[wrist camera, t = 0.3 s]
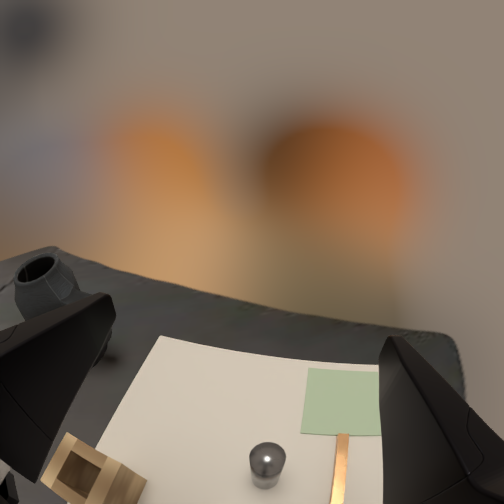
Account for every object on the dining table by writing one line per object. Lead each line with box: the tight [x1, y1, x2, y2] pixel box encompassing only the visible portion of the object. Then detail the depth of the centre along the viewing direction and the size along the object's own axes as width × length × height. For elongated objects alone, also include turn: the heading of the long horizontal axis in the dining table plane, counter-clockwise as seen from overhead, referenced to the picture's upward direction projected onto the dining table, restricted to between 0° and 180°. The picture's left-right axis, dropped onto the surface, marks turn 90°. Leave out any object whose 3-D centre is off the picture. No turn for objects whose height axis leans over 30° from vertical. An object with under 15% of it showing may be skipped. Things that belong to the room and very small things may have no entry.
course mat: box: [67, 336, 383, 504], centre depth 15 cm, size 25×26×1 cm
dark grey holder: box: [13, 253, 112, 368], centre depth 23 cm, size 12×9×11 cm
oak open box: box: [40, 432, 147, 504], centre depth 11 cm, size 5×5×5 cm
